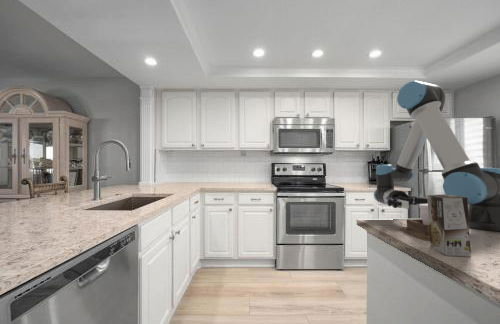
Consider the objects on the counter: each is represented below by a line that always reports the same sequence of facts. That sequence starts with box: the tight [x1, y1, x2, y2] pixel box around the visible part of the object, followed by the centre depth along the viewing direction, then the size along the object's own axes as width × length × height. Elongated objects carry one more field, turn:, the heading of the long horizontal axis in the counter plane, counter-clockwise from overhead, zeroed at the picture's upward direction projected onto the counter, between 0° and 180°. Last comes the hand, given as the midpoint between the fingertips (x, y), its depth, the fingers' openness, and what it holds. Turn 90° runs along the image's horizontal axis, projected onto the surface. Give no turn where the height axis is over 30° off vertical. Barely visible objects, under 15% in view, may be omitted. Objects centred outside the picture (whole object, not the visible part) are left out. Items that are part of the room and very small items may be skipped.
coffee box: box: [426, 194, 472, 257], centre depth 74 cm, size 9×6×16 cm
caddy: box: [399, 218, 430, 242], centre depth 92 cm, size 14×16×4 cm
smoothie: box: [418, 192, 431, 225], centre depth 93 cm, size 6×6×14 cm
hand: (426, 204), depth 94 cm, fingers open, 13 cm apart
